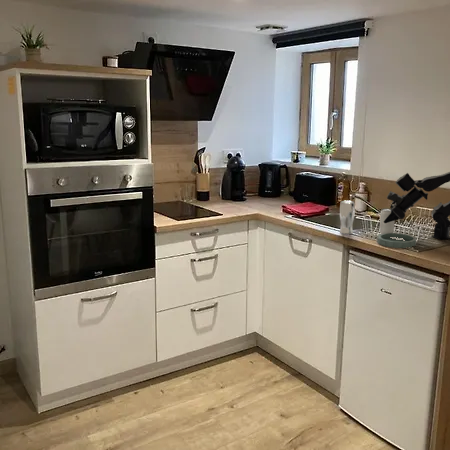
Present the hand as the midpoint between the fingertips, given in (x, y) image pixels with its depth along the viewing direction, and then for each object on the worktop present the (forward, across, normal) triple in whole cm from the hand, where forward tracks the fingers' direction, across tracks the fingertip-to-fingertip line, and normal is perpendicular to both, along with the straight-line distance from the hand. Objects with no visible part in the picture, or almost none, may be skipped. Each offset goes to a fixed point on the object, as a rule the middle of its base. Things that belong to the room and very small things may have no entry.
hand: (384, 220), depth 235 cm
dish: (+1, +14, +9) cm, 16 cm away
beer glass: (+17, 0, -7) cm, 18 cm away
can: (+4, 0, +6) cm, 7 cm away
